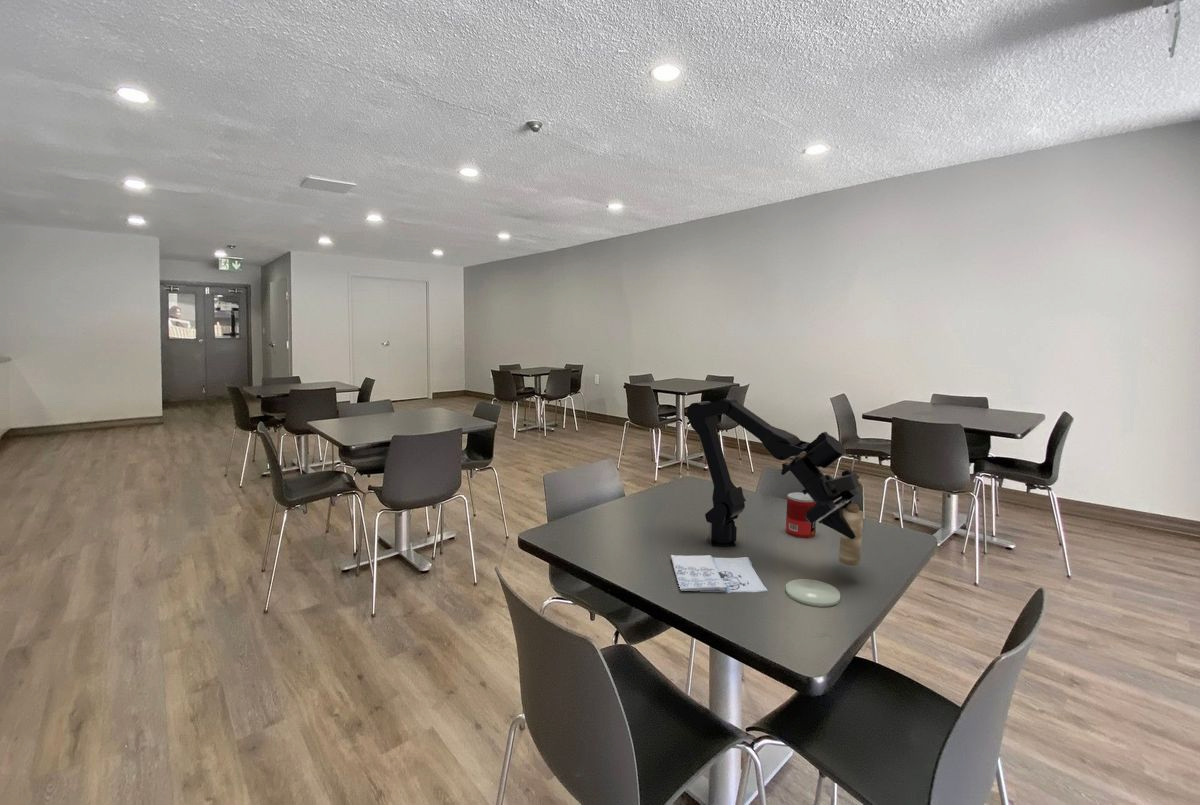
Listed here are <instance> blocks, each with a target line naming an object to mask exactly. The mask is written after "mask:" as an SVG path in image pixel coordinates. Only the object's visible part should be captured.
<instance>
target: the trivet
mask: <svg viewBox="0 0 1200 805" xmlns="http://www.w3.org/2000/svg"><path fill="white" fill-rule="evenodd" d="M785 593H786V595H787V596H788V597H789V598H790V599H792V600H794V602H797V603H800V604H802V605H807V606H811V607H819V608H826V607H827V608H828V607H829V608H830V607H833V605H834V606H835V605H836V606H837V604H839V603H840V602H841V593H840V591H839V590H838V588H836V587H834V586H833V585H831V584H829V583H827V582H824V581H821V580H815V579H809V578H798V579H793V580H790V581H787V583H786V584H785Z"/></svg>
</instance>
